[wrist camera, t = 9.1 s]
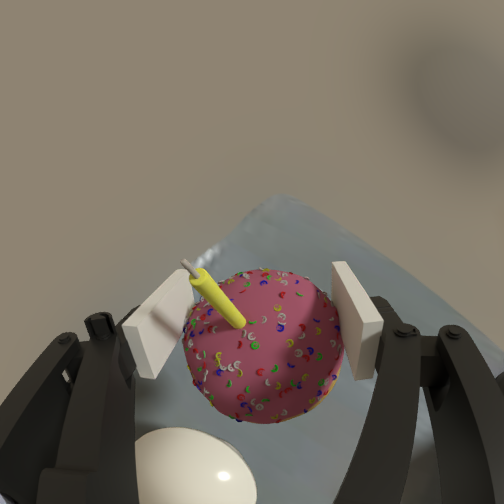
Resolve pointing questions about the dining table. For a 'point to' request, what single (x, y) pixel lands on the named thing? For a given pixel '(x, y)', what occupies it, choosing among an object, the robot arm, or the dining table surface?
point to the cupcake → (262, 344)
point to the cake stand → (191, 469)
